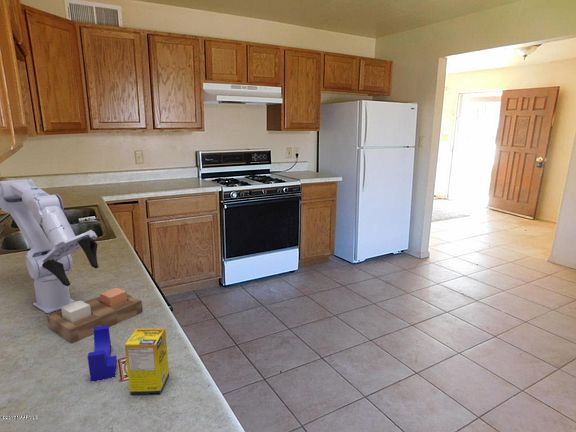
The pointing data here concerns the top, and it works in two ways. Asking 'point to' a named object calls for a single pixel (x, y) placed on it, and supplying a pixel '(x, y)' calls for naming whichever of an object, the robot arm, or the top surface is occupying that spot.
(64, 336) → the brown block tray
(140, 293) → the top surface
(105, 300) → the terracotta button
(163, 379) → the supplement box
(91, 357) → the blue notched block
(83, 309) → the white block
